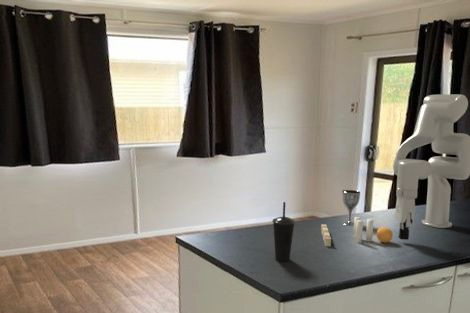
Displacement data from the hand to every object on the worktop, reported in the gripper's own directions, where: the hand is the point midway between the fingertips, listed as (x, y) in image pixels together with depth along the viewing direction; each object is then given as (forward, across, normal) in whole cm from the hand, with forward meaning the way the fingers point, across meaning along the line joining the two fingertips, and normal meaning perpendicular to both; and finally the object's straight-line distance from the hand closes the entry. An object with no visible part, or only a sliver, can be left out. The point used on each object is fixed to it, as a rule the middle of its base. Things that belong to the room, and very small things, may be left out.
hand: (403, 238), depth 164 cm
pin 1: (+2, -3, -18) cm, 18 cm away
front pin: (+2, 0, -13) cm, 13 cm away
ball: (-1, 0, -8) cm, 8 cm away
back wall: (+2, 0, -30) cm, 30 cm away
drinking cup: (+2, +27, -47) cm, 54 cm away
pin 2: (+2, +2, -18) cm, 18 cm away
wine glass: (+2, -25, -17) cm, 30 cm away
